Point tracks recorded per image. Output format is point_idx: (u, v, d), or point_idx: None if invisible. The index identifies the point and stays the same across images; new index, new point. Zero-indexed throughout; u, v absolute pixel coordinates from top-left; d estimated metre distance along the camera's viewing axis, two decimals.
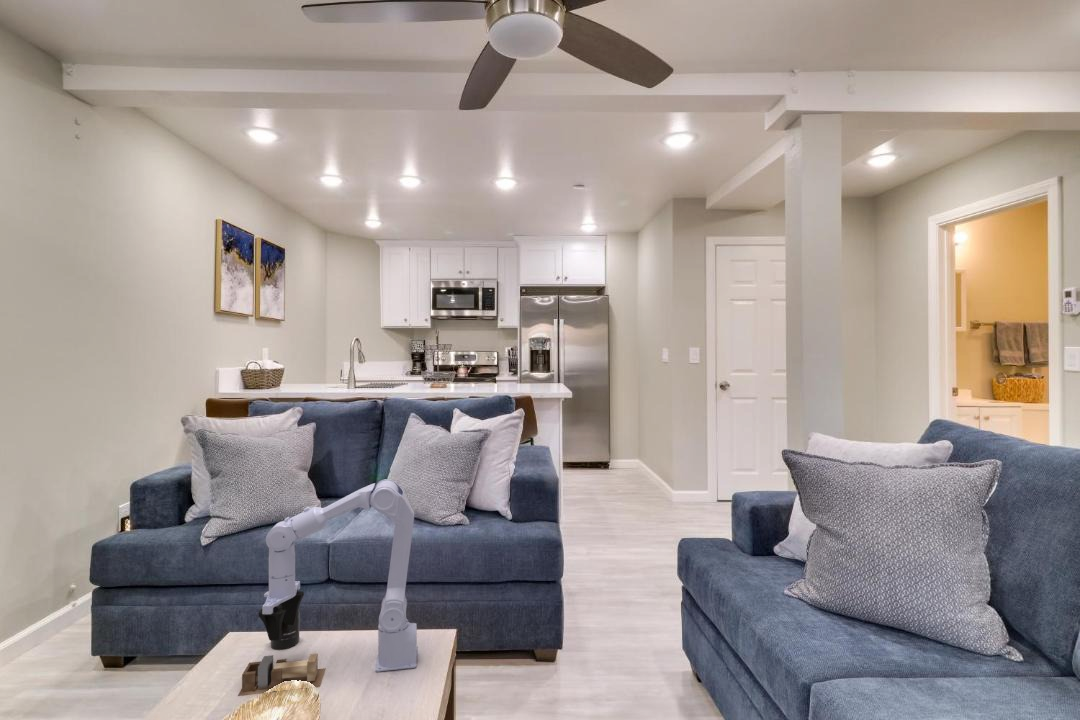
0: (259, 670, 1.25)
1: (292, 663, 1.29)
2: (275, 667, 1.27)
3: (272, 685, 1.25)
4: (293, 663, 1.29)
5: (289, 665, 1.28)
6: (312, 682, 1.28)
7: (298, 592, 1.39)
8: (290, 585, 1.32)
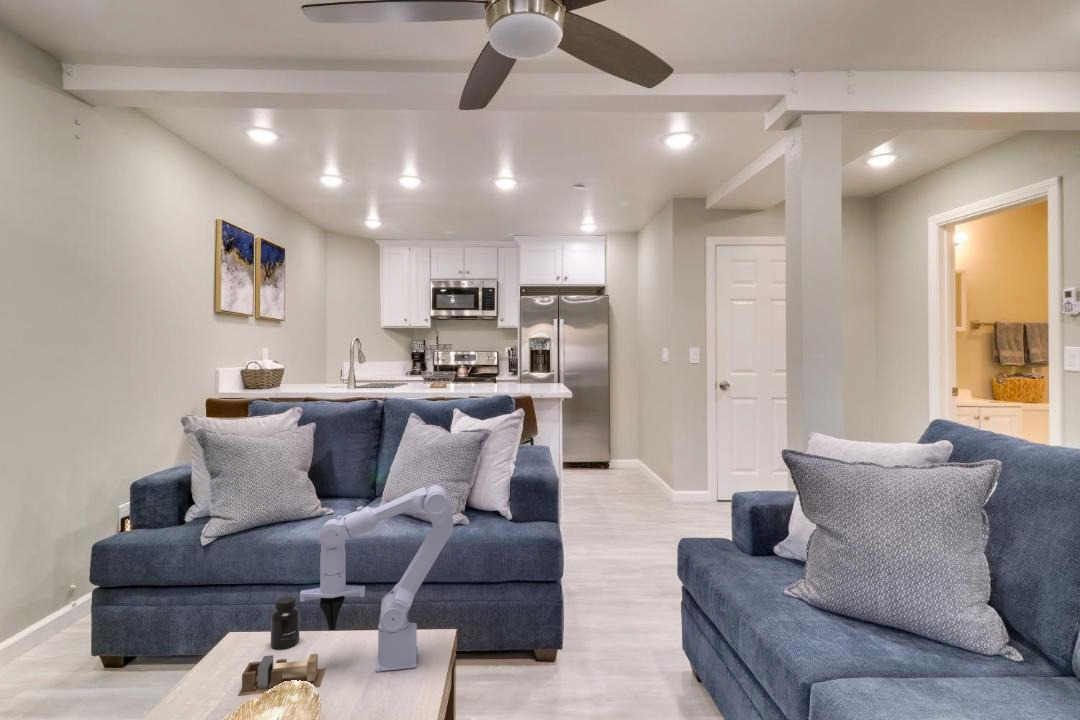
0: (259, 670, 1.25)
1: (292, 663, 1.29)
2: (275, 667, 1.27)
3: (272, 685, 1.25)
4: (293, 663, 1.29)
5: (289, 665, 1.28)
6: (312, 682, 1.28)
7: None
8: (325, 585, 1.32)
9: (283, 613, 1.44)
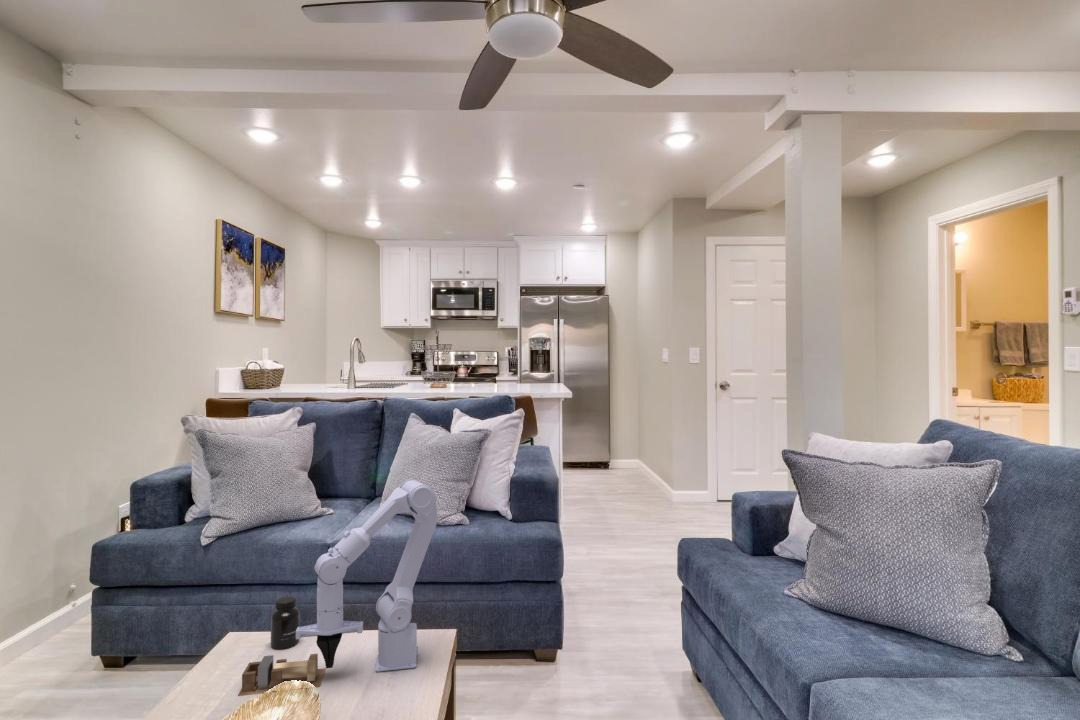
0: (259, 670, 1.25)
1: (292, 663, 1.29)
2: (275, 667, 1.27)
3: (272, 685, 1.25)
4: (293, 663, 1.29)
5: (289, 665, 1.28)
6: (312, 682, 1.28)
7: None
8: (322, 622, 1.28)
9: (283, 613, 1.44)
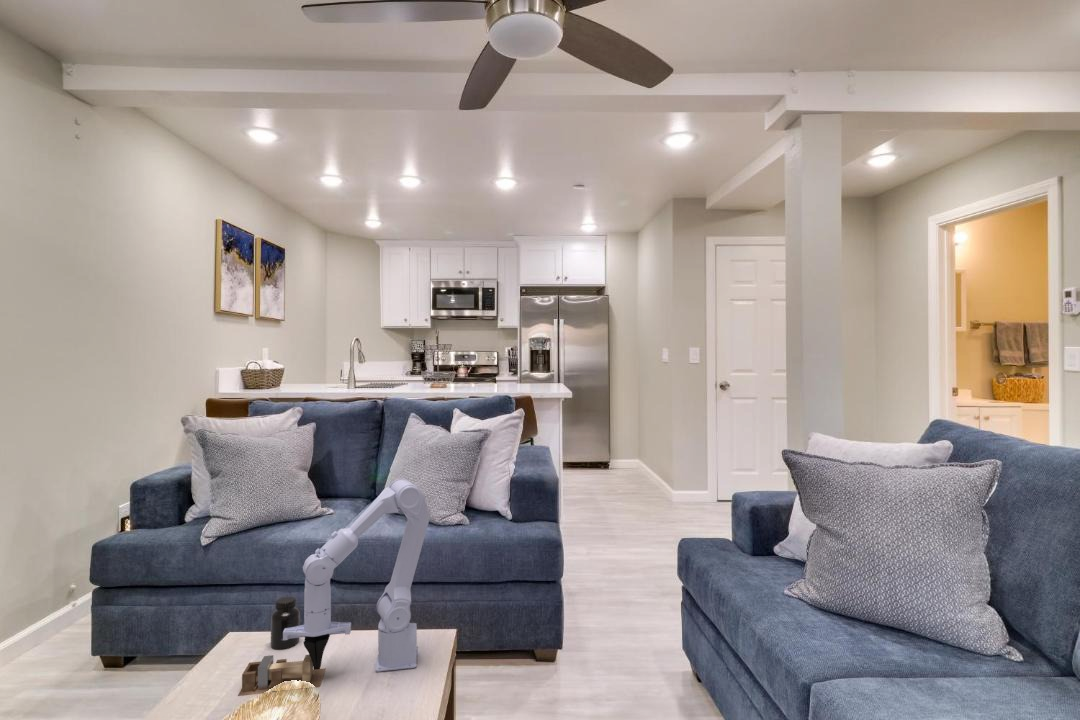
0: (259, 670, 1.25)
1: (287, 663, 1.29)
2: (270, 667, 1.27)
3: (272, 685, 1.25)
4: (288, 664, 1.29)
5: (284, 665, 1.28)
6: (312, 682, 1.28)
7: None
8: (310, 623, 1.27)
9: (283, 613, 1.44)
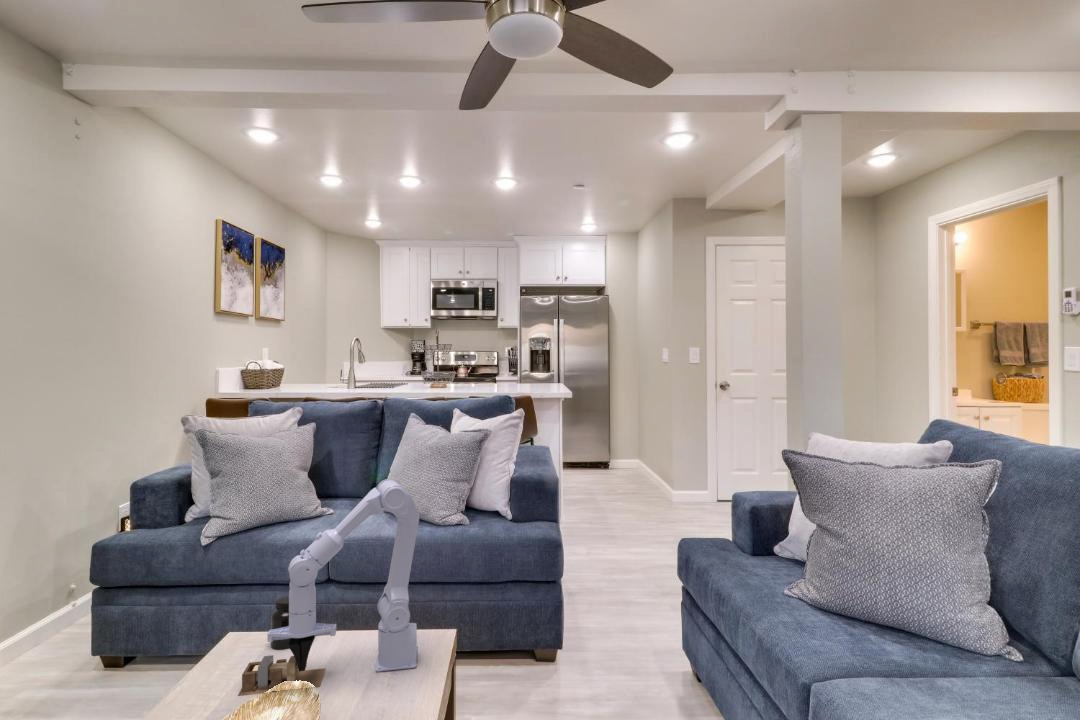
0: (259, 670, 1.25)
1: (272, 665, 1.28)
2: (254, 669, 1.26)
3: (272, 685, 1.25)
4: (273, 665, 1.28)
5: (269, 667, 1.27)
6: (312, 682, 1.28)
7: None
8: (294, 625, 1.27)
9: (283, 613, 1.44)
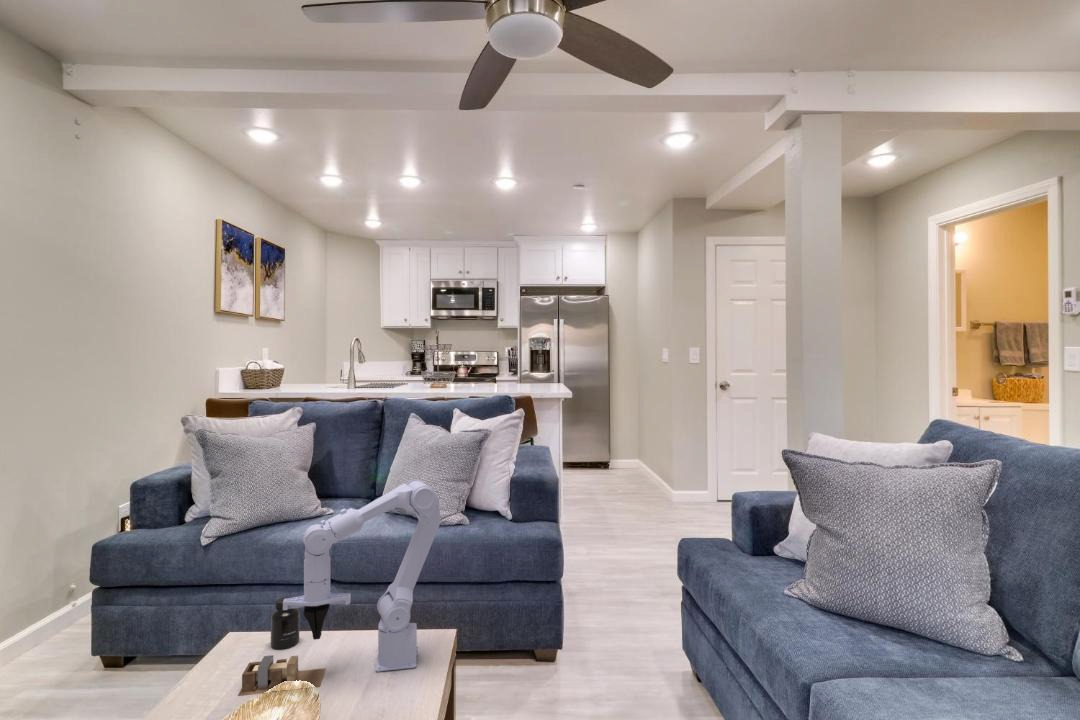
0: (259, 670, 1.25)
1: (272, 665, 1.28)
2: (254, 669, 1.26)
3: (272, 685, 1.25)
4: (273, 665, 1.28)
5: (269, 667, 1.27)
6: (312, 682, 1.28)
7: None
8: (309, 593, 1.28)
9: (283, 613, 1.44)
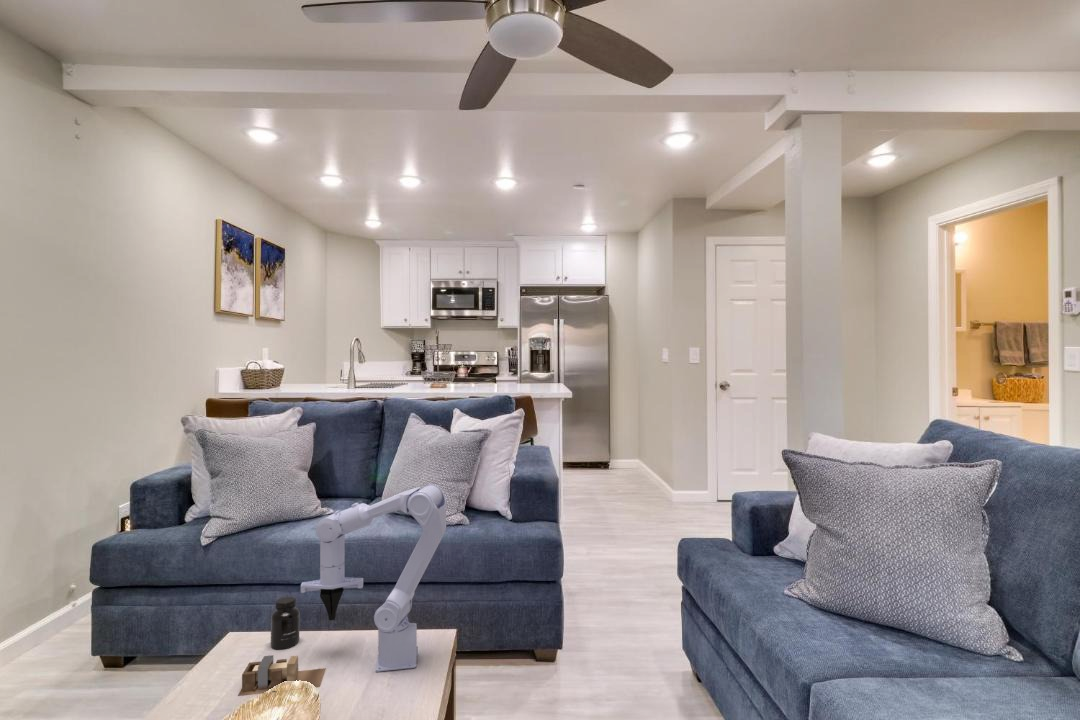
0: (259, 670, 1.25)
1: (272, 665, 1.28)
2: (254, 669, 1.26)
3: (272, 685, 1.25)
4: (273, 665, 1.28)
5: (269, 667, 1.27)
6: (312, 682, 1.28)
7: None
8: (325, 577, 1.37)
9: (283, 613, 1.44)
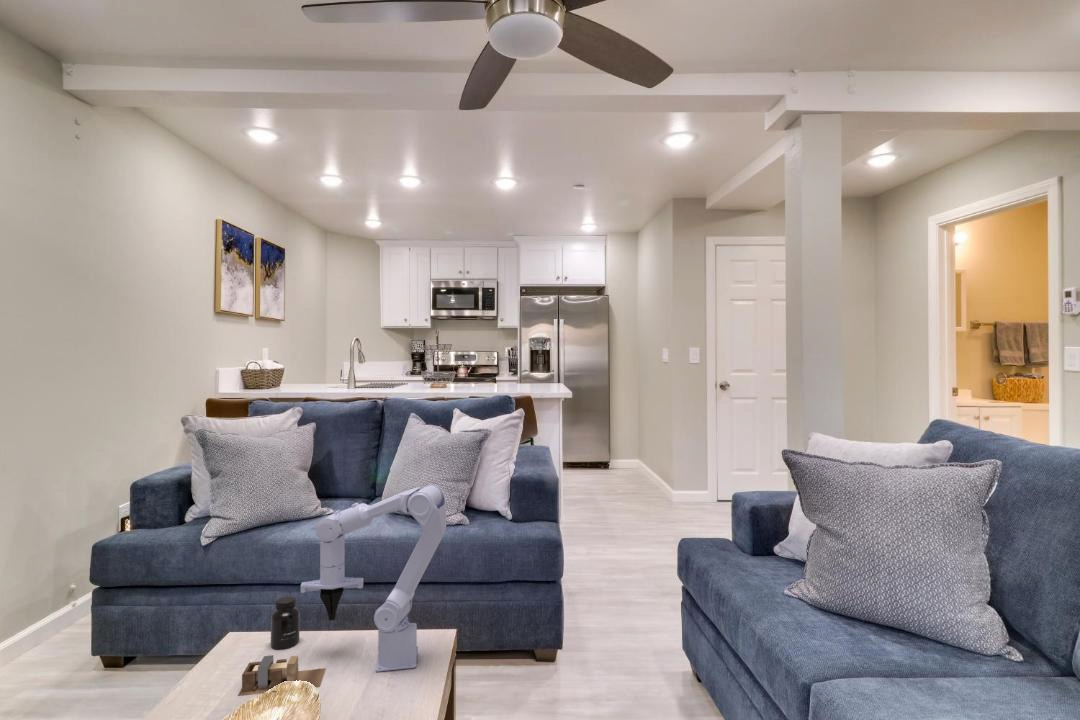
0: (259, 670, 1.25)
1: (272, 665, 1.28)
2: (254, 669, 1.26)
3: (272, 685, 1.25)
4: (273, 665, 1.28)
5: (269, 667, 1.27)
6: (312, 682, 1.28)
7: None
8: (325, 577, 1.37)
9: (283, 613, 1.44)
